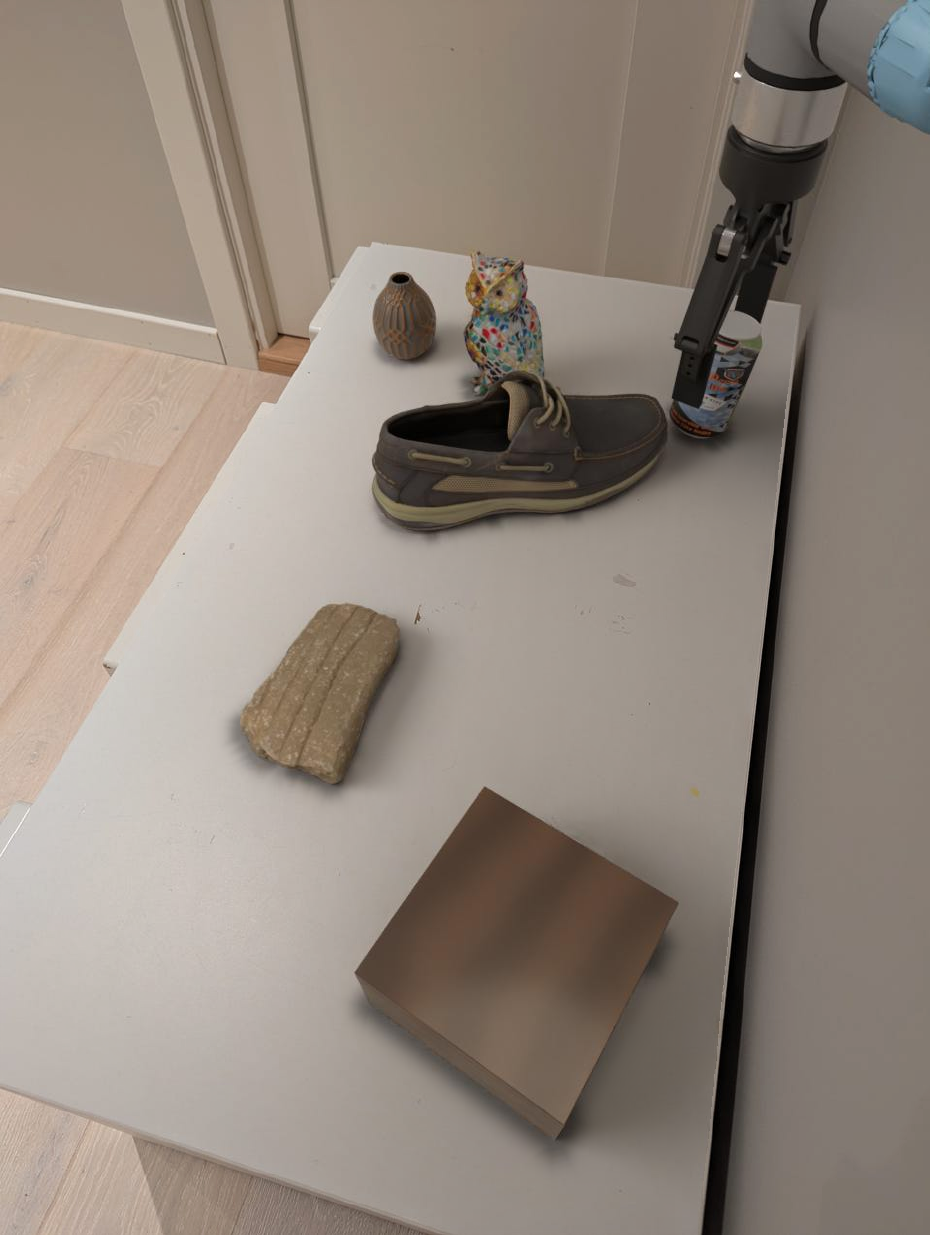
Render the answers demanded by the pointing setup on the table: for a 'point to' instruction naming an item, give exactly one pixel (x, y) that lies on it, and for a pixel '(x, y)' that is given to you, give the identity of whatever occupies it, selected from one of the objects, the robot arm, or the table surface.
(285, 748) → the decorative stone
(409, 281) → the vase
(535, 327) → the figurine
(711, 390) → the beverage can
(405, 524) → the boat shoe
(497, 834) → the walnut shelf
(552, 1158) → the table surface
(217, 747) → the table surface
